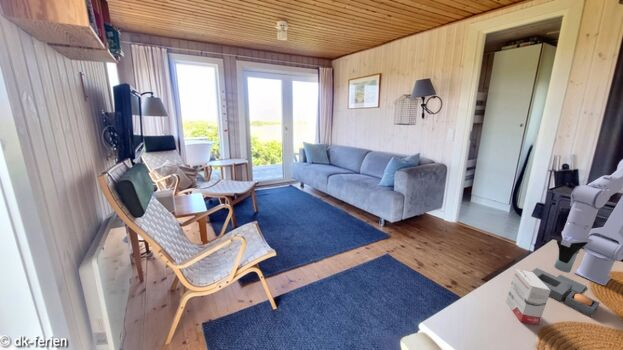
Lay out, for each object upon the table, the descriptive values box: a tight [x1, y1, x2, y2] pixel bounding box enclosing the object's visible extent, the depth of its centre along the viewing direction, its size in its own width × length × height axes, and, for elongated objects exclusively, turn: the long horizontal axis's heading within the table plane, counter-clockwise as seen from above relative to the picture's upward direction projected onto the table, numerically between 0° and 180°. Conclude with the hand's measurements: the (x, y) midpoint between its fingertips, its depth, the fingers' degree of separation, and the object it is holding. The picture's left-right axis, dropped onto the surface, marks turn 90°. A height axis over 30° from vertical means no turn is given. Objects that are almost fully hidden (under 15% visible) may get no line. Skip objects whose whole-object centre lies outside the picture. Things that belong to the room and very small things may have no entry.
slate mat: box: [557, 274, 587, 294], centre depth 90 cm, size 7×7×1 cm
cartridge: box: [553, 250, 580, 273], centre depth 86 cm, size 4×4×8 cm
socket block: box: [530, 267, 573, 302], centre depth 88 cm, size 10×10×2 cm
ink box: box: [505, 268, 551, 326], centre depth 75 cm, size 9×5×12 cm, turn 168°
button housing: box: [564, 290, 600, 318], centre depth 80 cm, size 6×6×2 cm
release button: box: [574, 293, 593, 307], centre depth 80 cm, size 4×4×2 cm
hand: (565, 259), depth 87 cm, fingers closed on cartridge, 4 cm apart
